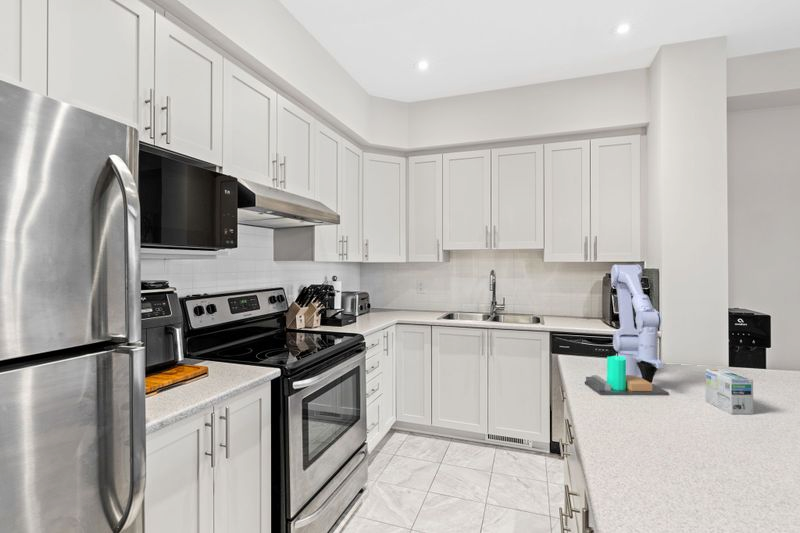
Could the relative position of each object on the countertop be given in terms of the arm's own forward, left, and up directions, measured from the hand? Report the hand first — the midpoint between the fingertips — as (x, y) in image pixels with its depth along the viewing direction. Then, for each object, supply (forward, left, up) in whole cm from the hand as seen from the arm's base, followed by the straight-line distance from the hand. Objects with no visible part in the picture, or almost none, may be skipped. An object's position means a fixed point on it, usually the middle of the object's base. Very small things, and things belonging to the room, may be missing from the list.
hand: (647, 383), depth 140 cm
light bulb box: (-15, +17, -2) cm, 22 cm away
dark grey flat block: (+8, 0, -2) cm, 8 cm away
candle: (+11, +1, -1) cm, 12 cm away
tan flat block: (+5, 0, -1) cm, 5 cm away
